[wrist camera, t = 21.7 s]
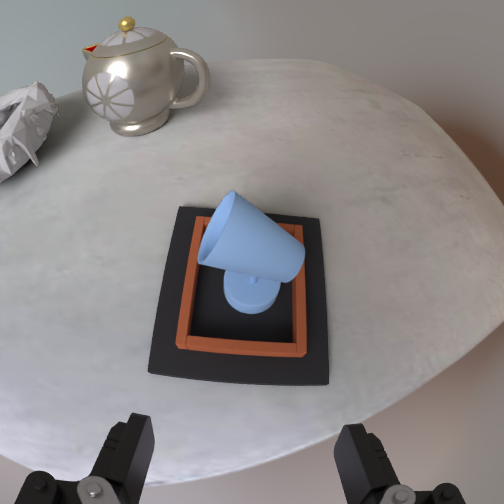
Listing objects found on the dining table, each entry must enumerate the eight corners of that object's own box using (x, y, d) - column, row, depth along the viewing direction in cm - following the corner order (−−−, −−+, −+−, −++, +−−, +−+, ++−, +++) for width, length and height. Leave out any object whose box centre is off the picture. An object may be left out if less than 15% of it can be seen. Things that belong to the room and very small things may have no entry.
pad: (325, 385, 22) (335, 381, 20) (149, 373, 21) (142, 368, 19) (317, 223, 30) (323, 208, 28) (179, 210, 29) (177, 195, 27)
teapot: (75, 147, 34) (44, 45, 20) (120, 97, 41) (107, 11, 27) (193, 158, 33) (188, 26, 19) (222, 103, 41) (227, 4, 27)
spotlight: (197, 305, 23) (282, 322, 23) (182, 235, 15) (316, 261, 15) (212, 254, 26) (289, 269, 26) (208, 170, 17) (320, 191, 17)
